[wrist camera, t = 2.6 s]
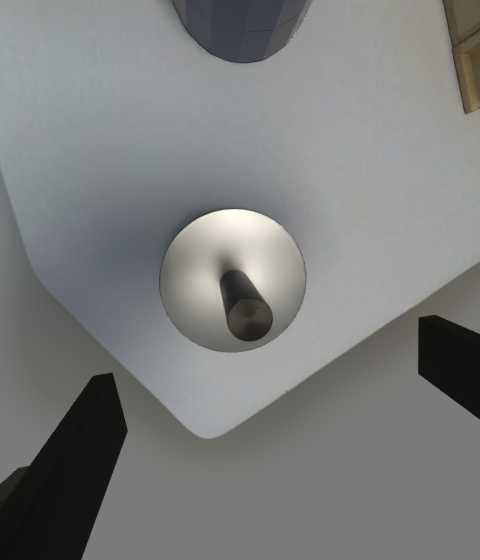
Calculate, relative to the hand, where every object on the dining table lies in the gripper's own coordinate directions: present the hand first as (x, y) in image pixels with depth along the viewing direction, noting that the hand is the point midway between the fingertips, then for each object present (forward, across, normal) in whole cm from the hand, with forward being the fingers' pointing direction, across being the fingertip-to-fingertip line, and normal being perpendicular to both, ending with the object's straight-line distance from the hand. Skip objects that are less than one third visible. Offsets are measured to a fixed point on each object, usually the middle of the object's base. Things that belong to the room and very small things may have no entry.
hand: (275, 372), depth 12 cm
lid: (+17, 0, 0) cm, 17 cm away
